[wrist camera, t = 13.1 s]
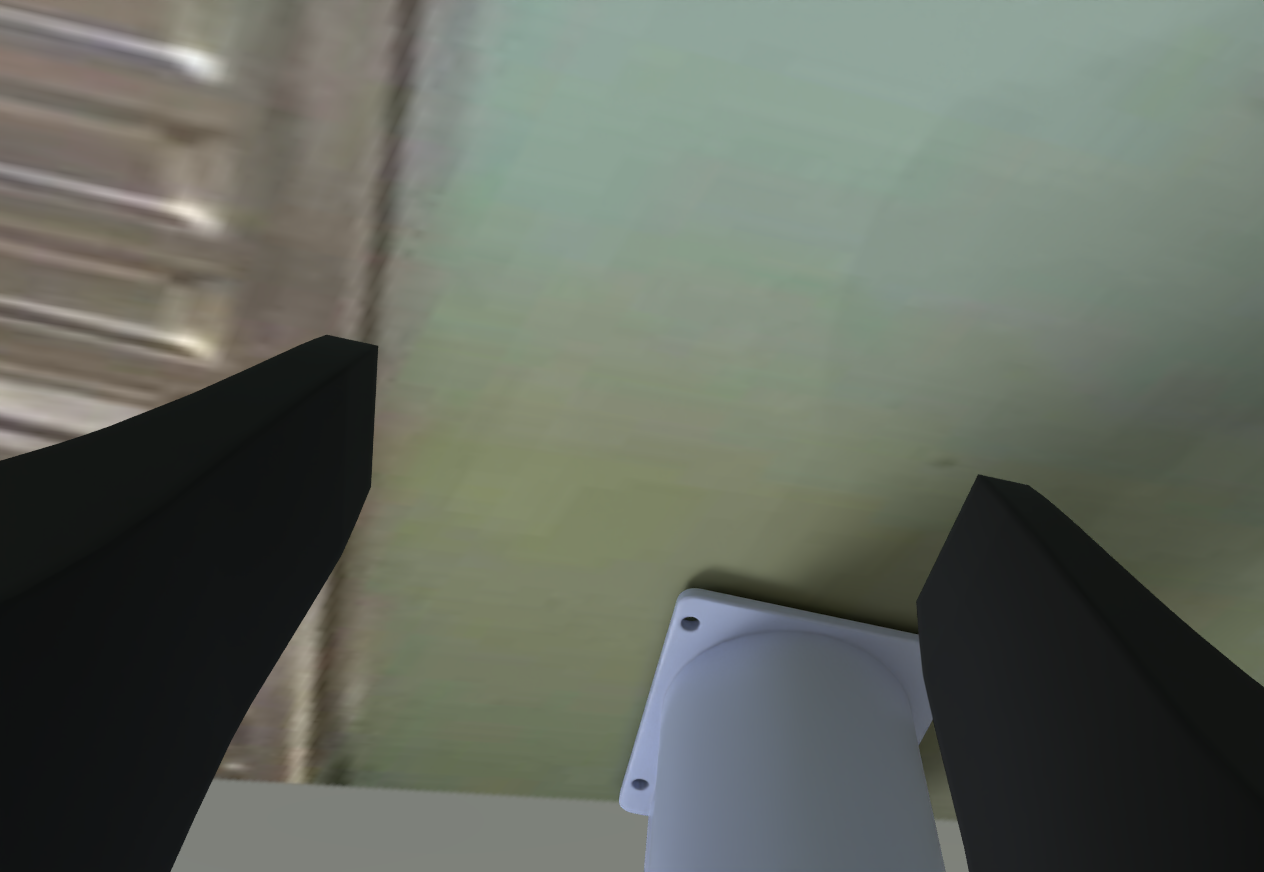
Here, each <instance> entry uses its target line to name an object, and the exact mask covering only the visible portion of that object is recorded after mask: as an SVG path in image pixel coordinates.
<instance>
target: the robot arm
mask: <svg viewBox="0 0 1264 872" xmlns="http://www.w3.org/2000/svg"><path fill="white" fill-rule="evenodd" d="M377 358H378V346H377V345H372V344H367V343H363V342H358V341H353V340H349V339H344V338H339V337H335V336H330V335H325V336H322V337H319V338H316V339H313V340H311V341H309V342H306V343H304V344H301V345H299V346H297V347H295V348H292V349H290V350H288V351H286V352H283V353H281V354H279V355H277V356H275V357H273V358H270V359H268V360H266V361H264V362H262V363H260V364H257V365H255V366H253V367H251V368H249V369H246V370H244V371H242V372H240V373H237V374H235V375H233V376H231V377H228V378H226V379H224V380H222V381H220V382H217V383H215V384H213V385H211V386H208V387H206V388H204V389H202V390H199V391H197V392H195V393H192V394H190V395H188V396H185V397H183V398H180V399H178V400H175V401H172V402H170V403H167V404H165V405H162V406H160V407H157V408H155V409H152V410H150V411H147V412H145V413H142V414H139V415H137V416H134V417H132V418H129V419H127V420H124V421H122V422H119V423H117V424H114V425H112V426H109V427H106V428H103V429H100V430H98V431H95V432H92V433H89V434H86V435H83V436H80V437H77V438H74V439H71V440H68V441H65V442H62V443H59V444H56V445H52V446H49V447H45V448H42V449H39V450H35V451H32V452H29V453H25V454H22V455H18V456H15V457H12V458H8V459H5V460H1V461H0V872H170V871H171V869H172V867H173V865H174V863H175V860H176V858H177V856H178V854H179V851H180V849H181V847H182V845H183V843H184V840H185V838H186V836H187V834H188V831H189V829H190V827H191V825H192V823H193V820H194V818H195V816H196V814H197V812H198V809H199V808H200V805H201V803H202V801H203V799H204V797H205V795H206V793H207V791H208V789H209V786H210V784H211V782H212V780H213V778H214V776H215V774H216V772H217V769H218V767H219V765H220V763H221V761H222V759H223V757H224V755H225V753H226V750H227V748H228V746H229V744H230V742H231V740H232V738H233V736H234V734H235V733H236V731H237V729H238V727H239V725H240V723H241V722H242V720H243V718H244V716H245V714H246V713H247V711H248V709H249V707H250V705H251V703H252V702H253V700H254V699H255V697H256V695H257V694H258V692H259V690H260V689H261V687H262V685H263V684H264V682H265V681H266V679H267V677H268V676H269V674H270V672H271V671H272V669H273V667H274V666H275V664H276V663H277V661H278V659H279V658H280V656H281V654H282V653H283V651H284V650H285V648H286V646H287V645H288V643H289V641H290V640H291V638H292V636H293V635H294V633H295V632H296V630H297V628H298V627H299V625H300V623H301V622H302V620H303V618H304V617H305V615H306V614H307V612H308V610H309V609H310V607H311V605H312V604H313V602H314V600H315V599H316V597H317V595H318V594H319V592H320V590H321V589H322V587H323V585H324V584H325V582H326V580H327V579H328V577H329V575H330V574H331V572H332V570H333V569H334V567H335V565H336V564H337V562H338V560H339V559H340V557H341V555H342V553H343V551H344V549H345V546H346V544H347V542H348V540H349V537H350V535H351V533H352V531H353V528H354V526H355V524H356V521H357V519H358V517H359V514H360V512H361V509H362V507H363V505H364V502H365V500H366V497H367V495H368V493H369V490H370V488H371V475H372V456H373V436H374V417H375V397H376V377H377ZM916 603H917V617H918V632H919V635H918V634H913V633H909V632H904V631H899V630H894V629H890V628H885V627H880V626H875V625H871V624H866V623H861V622H856V621H852V620H847V619H842V618H837V617H833V616H828V615H823V614H818V613H814V612H809V611H804V610H799V609H795V608H790V607H785V606H780V605H776V604H771V603H766V602H761V601H757V600H752V599H747V598H742V597H738V596H733V595H728V594H723V593H719V592H714V591H709V590H704V589H700V588H690V589H686V590H684V591H683V592H681V593H680V595H679V596H678V598H677V601H676V604H675V608H674V611H673V615H672V618H671V621H670V625H669V628H668V631H667V635H666V638H665V642H664V645H663V648H662V652H661V655H660V658H659V662H658V665H657V669H656V672H655V675H654V679H653V682H652V685H651V689H650V692H649V696H648V699H647V702H646V706H645V709H644V713H643V716H642V719H641V723H640V726H639V729H638V733H637V736H636V740H635V743H634V746H633V750H632V753H631V756H630V760H629V763H628V767H627V770H626V773H625V777H624V780H623V783H622V787H621V790H620V796H619V804H620V806H621V807H622V808H623V809H624V810H626V811H628V812H631V813H635V814H641V815H645V816H649V819H648V831H647V842H646V843H647V844H646V854H645V865H644V872H946V871H945V867H944V862H943V857H942V852H941V848H940V843H939V838H938V834H937V830H936V825H935V820H934V815H933V811H932V806H931V801H930V797H929V792H928V787H927V783H926V778H925V773H924V769H923V764H922V759H921V755H920V750H919V744H920V742H921V740H922V738H923V737H924V735H925V733H926V731H927V729H928V727H929V726H930V724H931V722H932V720H933V722H934V726H935V731H936V735H937V739H938V743H939V747H940V751H941V755H942V759H943V763H944V767H945V771H946V775H947V780H948V784H949V788H950V792H951V796H952V800H953V804H954V808H955V812H956V816H957V820H958V824H959V828H960V832H961V837H962V841H963V845H964V849H965V854H966V859H967V864H968V869H969V872H1264V687H1263V686H1262V685H1260V684H1259V683H1258V682H1256V681H1255V680H1254V679H1252V678H1251V677H1250V676H1249V675H1247V674H1246V673H1245V672H1244V671H1242V670H1241V669H1240V668H1239V667H1238V666H1236V665H1235V664H1234V663H1233V662H1232V661H1230V660H1229V659H1228V658H1227V657H1226V656H1224V655H1223V654H1222V653H1221V652H1220V651H1218V650H1217V649H1216V648H1215V647H1213V646H1212V645H1211V644H1210V643H1209V642H1207V641H1206V640H1205V639H1204V638H1203V637H1201V636H1200V635H1199V634H1198V633H1197V632H1195V631H1194V630H1193V629H1192V628H1191V627H1190V626H1188V625H1187V624H1186V623H1185V622H1184V621H1183V620H1182V619H1180V618H1179V617H1178V616H1177V615H1176V614H1175V613H1173V612H1172V611H1171V610H1170V609H1169V608H1168V607H1167V606H1165V605H1164V604H1163V603H1162V602H1161V601H1160V600H1159V599H1158V598H1156V597H1155V596H1154V595H1153V594H1152V593H1151V592H1150V591H1149V590H1148V589H1146V588H1145V587H1144V586H1143V585H1142V584H1141V583H1140V582H1139V581H1138V580H1137V579H1135V578H1134V577H1133V576H1132V575H1131V574H1130V573H1129V572H1128V571H1127V570H1126V569H1124V568H1123V567H1122V566H1121V565H1120V564H1119V563H1118V562H1117V561H1116V560H1115V559H1114V558H1112V557H1111V556H1110V555H1109V554H1108V553H1107V552H1106V551H1105V550H1104V549H1103V548H1102V547H1100V546H1099V545H1098V544H1097V543H1096V542H1095V541H1094V540H1093V539H1092V538H1091V537H1090V536H1088V535H1087V534H1086V533H1085V532H1084V531H1083V530H1082V529H1081V528H1080V527H1079V526H1077V525H1076V524H1075V523H1074V522H1073V521H1072V520H1071V519H1070V518H1068V517H1067V516H1066V515H1065V514H1064V513H1063V512H1062V511H1060V510H1059V509H1058V508H1057V507H1056V506H1055V505H1053V504H1052V503H1051V502H1050V501H1049V500H1047V499H1046V498H1045V497H1044V496H1042V495H1041V494H1040V493H1038V492H1037V491H1036V490H1034V489H1033V488H1031V487H1030V486H1029V485H1025V484H1020V483H1016V482H1011V481H1006V480H1002V479H997V478H992V477H988V476H983V475H978V476H977V478H976V480H975V482H974V484H973V486H972V488H971V490H970V492H969V494H968V496H967V498H966V500H965V502H964V504H963V506H962V509H961V511H960V513H959V515H958V517H957V519H956V521H955V523H954V525H953V527H952V529H951V531H950V533H949V535H948V537H947V539H946V541H945V543H944V546H943V548H942V550H941V552H940V554H939V556H938V558H937V560H936V562H935V564H934V566H933V568H932V570H931V572H930V574H929V576H928V578H927V580H926V583H925V585H924V587H923V589H922V591H921V593H920V595H919V597H918V599H917V601H916ZM686 617H694V618H697V620H695V621H688V620H686V619H684V618H686Z"/></svg>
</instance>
